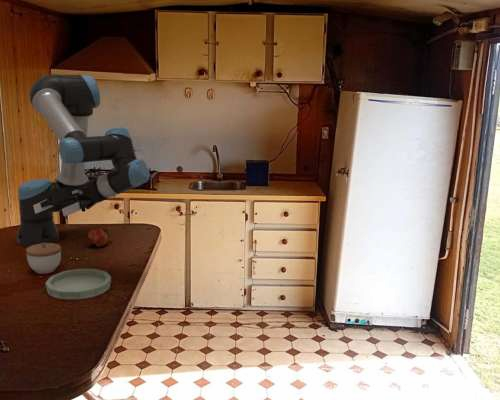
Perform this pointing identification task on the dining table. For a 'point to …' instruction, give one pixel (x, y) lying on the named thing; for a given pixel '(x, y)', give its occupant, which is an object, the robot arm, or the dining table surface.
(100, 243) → the pomegranate
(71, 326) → the dining table surface
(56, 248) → the lidded jar
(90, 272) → the rimmed tray
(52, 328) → the dining table surface
